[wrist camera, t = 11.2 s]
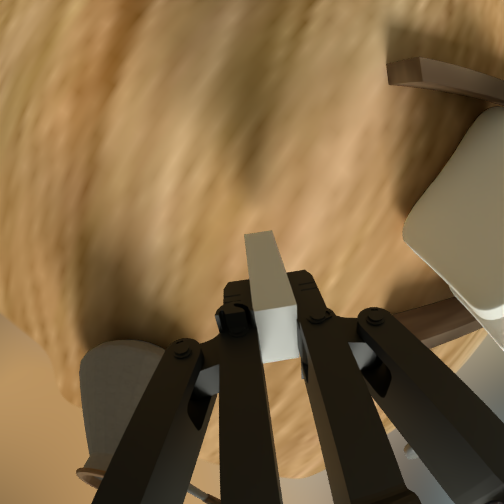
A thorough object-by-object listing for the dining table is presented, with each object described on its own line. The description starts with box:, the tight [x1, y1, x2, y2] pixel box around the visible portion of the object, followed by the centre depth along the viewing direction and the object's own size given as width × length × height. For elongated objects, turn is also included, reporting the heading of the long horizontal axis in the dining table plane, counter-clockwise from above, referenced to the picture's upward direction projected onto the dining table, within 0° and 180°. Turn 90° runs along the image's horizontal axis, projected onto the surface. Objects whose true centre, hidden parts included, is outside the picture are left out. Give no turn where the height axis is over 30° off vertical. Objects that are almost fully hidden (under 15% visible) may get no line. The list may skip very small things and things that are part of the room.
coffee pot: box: [76, 340, 221, 504], centre depth 20 cm, size 21×12×15 cm, turn 53°
